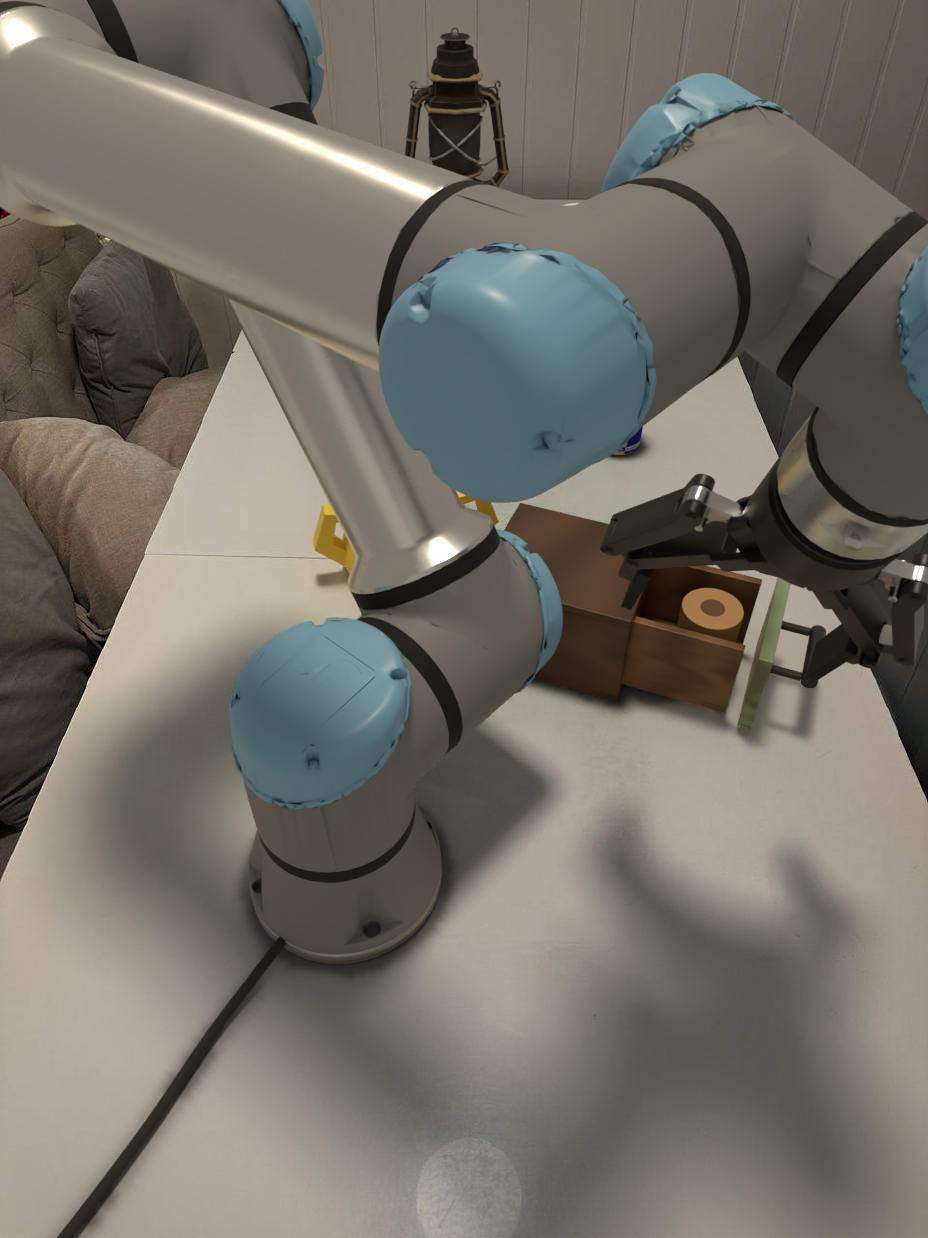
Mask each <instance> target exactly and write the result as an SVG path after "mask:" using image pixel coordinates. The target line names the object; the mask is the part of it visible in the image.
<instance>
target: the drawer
mask: <svg viewBox="0 0 928 1238" xmlns="http://www.w3.org/2000/svg"><path fill="white" fill-rule="evenodd" d="M762 582H763V578H759V577H755V576H750V575H747V574H742V573H739V572H735V571H730V572H725V571H722V570H721V569H720V568H719V567H713V566H711V565H708V566H691V567H675V568H658V569H654V570H653V572H652V575H651V578H650V580H649V581H648V583H647V585H646V588H645V590H644V593H643V596H642V598H641V601H640V603H639V606H638V608H637V611H636V614H635V616H634V619H633V621H632V625H631V631H630V636H629V642H628V647H627V653H626V659H625V664H624V670H623V676H622V681H621V684H623V686H628V687H631V688H635V689H639V690H642V691H646V692H649V693H651V694H656V695H658V696H659V695H660V696H663V697H666V698H669V699H673V700H676V701H680V702H684V703H686V704H690V705H693V706H697V707H701V708H705V709H708V710H711V711H715V712H718V713H722V714H725V713H726V712H727V708H728V706H729V702H730V698H731V696H732V692H733V689H734V685H735V682H736V679H737V676H738V672H739V669H740V666H741V663H742V660H743V656H744V653H745V650H746V645H745V640H746V635H747V632H748V629H749V625H750V622H751V620H752V616H753V613H754V609H755V606H756V602H757V599H758V596H759V593H760V590H761V586H762ZM700 588H715V589H719V590H723V591H725V592H727V593H729V594H731V595H733V596H734V597H735V598H736V599H737V600H738V601H739V602H740V603H741V605H742V607H743V610H744V616H743V619H742V623H741V626H740V630H739V633H738V636H737V640H736V643H735V642H731V641H728V640H724V639H720V638H716V637H713V636H709V635H705V634H701V633H697V632H694V631H690V630H686V629H682V628H679V627H677V623H678V619H679V614H680V610H681V605H682V601H683V599H684V597H685V596H686V595H687V594H688V593H689V592H691V591H693V590H696V589H700ZM790 588H791V584H790V583H788V582H786V581H784V580H783V579H781V578H778V577H777V579H776V583H775V586H774V589H773V592H772V595H771V598H770V602H769V604H768V608H767V610H766V614H765V617H764V620H763V623H762V626H761V629H760V632H759V635H758V638H757V642H756V646H755V650H754V653H753V659H752V663H751V667H750V671H749V675H748V680H747V684H746V688H745V692H744V696H743V700H742V705H741V708H740V712H739V717H738V721H737V726H739V727H741V728H744V729H748V730H751V729H752V727H753V723H754V720H755V718H756V714H757V712H758V709H759V705H760V703H761V700H762V697H763V694H764V691H765V688H766V686H767V683H768V679H769V677H770V674H771V675H775V676H778V677H783V678H786V679H789V680H793V681H797V682H800V685H801V686H802V687H803V688H805V689H811V690H812V689H814V688H816V687H817V686H818V684H819V680H817V681H815V680H813V679H810V678H807V677H806V676H807V672H808V669H809V666H810V662H811V659H812V655H813V652H814V649H815V645H816V642H818V641H819V640H820V639H822V638H823V637H824V636H826V635H827V629H826V628H825V627H824V626H823V625H819V624H817V625H813V626H811V627H808V626H804V625H801V624H797V623H792V622H788V621H786V620H785V621H784V616H785V612H786V606H787V601H788V597H789V594H790ZM781 630H782V631H787V632H790V633H794V634H798V635H801V636H805V637H808V638H807V644H806V650H805V656H804V660H803V667H802V671H798V670H795V669H790V668H788V667H783V666H780V665H776V664H774V661H775V657H776V653H777V648H778V642H779V638H780V634H781Z"/></svg>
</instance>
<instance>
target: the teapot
mask: <svg viewBox="0 0 928 1238" xmlns="http://www.w3.org/2000/svg"><path fill="white" fill-rule="evenodd" d="M456 492H457V494H458V496H459V498H460V501H461V503H462V504H463V505H464V506H465V505H467V504H470V503H473V502H474V504H475V506H476V509H475V510H476V511H479V512H481V513H484V514H487V515H488V516H490V517H491V519H492V521H493V524H494V526H495V527H496V525H497V524H498V523H499V522H500V521H499V519H498V516H497V513H496V510H495V508H494V506H493V504H492V503H493V502H487V501H482V500H477V499H474V498H472V497H469V496H466V495H464V494H462V493H460V492H458V491H456ZM337 524H340V523H339V521H338V519H337V517H336V515H335V513H334V511H333V509H332V507H331V505H330V503H325V502H324V503H322V505H321V508H320V512H319V516H318V519H317V523H316V527H315V530H314V534H313V538H312V541H313V549H314V552H316V553H318V554H320V555H322V556H323V557H325V558H328V559H329V560H331V561H333V562H335V563H338V564H339V565H341V566H343V567H345V570H346V571H347V572H348V574H349V575H350V573H351V570H352V568H353V565H354V562H355V553H354V551H353V549H352V547H351V545H350V543H349V541H348V539H347V537H346V535H345V533H344V532H343V533H342V537H340V536H338V535H336V534H335V533H336V528H337Z"/></svg>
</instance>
